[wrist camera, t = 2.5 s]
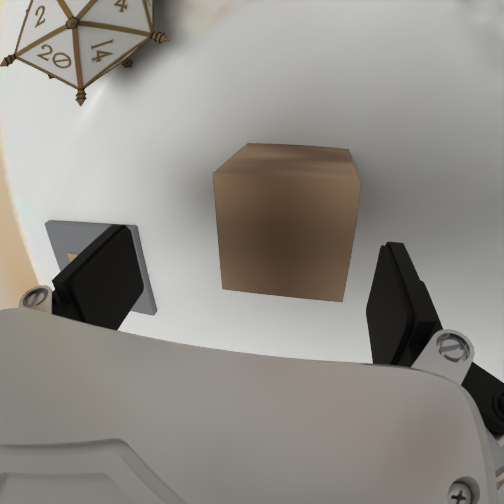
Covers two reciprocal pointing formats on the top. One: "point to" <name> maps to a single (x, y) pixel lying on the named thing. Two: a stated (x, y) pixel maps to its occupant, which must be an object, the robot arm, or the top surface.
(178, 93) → the top surface
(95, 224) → the card
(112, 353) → the robot arm
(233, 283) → the walnut block
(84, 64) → the game die
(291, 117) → the top surface
